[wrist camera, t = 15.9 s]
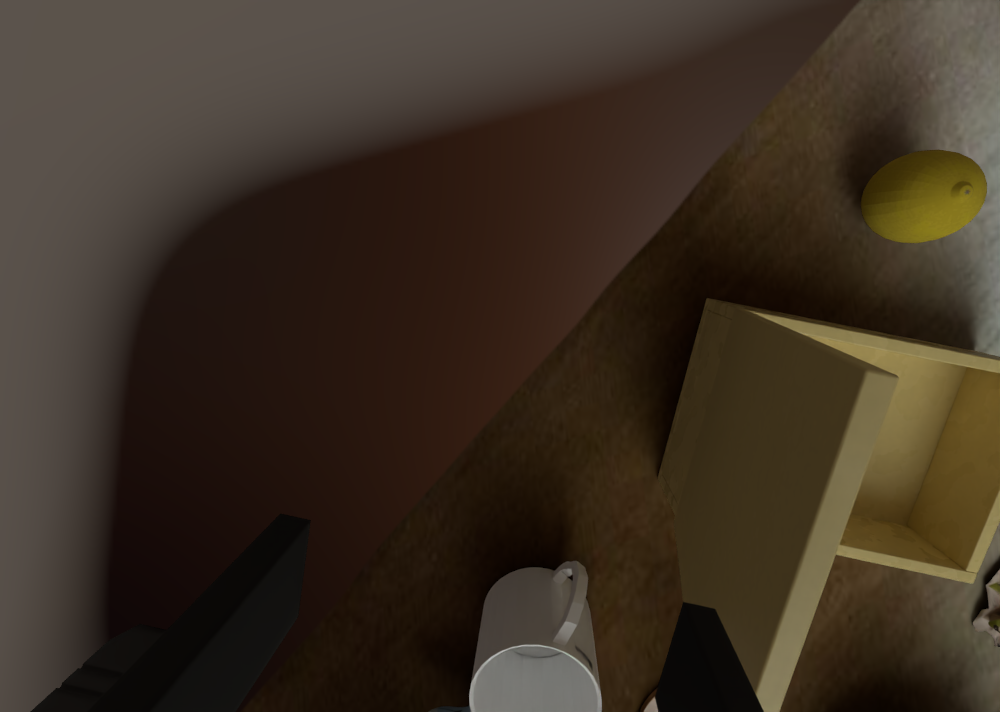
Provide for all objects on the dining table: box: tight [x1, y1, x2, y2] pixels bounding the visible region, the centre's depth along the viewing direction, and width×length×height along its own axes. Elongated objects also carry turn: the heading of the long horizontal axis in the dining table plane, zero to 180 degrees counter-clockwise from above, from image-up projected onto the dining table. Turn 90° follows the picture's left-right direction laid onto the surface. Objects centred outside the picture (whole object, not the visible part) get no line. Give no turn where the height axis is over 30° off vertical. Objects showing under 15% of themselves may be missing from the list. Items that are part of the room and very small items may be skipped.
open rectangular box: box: [657, 298, 1000, 584], centre depth 38 cm, size 20×15×7 cm
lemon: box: [861, 150, 987, 243], centre depth 34 cm, size 6×6×8 cm
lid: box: [674, 308, 899, 712], centre depth 25 cm, size 20×15×1 cm
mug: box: [469, 561, 602, 712], centre depth 41 cm, size 12×9×9 cm
